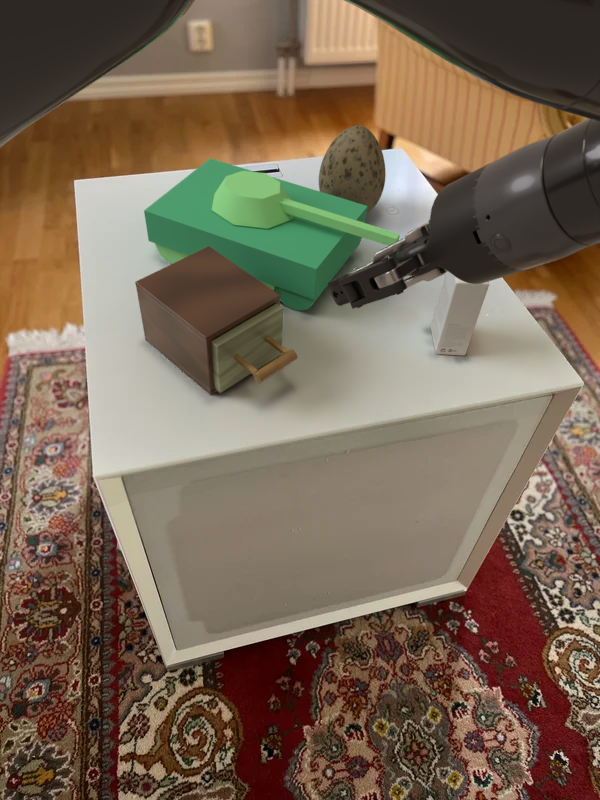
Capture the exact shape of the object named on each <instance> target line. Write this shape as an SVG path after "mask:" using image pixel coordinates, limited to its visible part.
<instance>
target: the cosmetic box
mask: <svg viewBox="0 0 600 800" xmlns="http://www.w3.org/2000/svg"><path fill="white" fill-rule="evenodd" d="M489 282H490V281H489ZM489 282H485V283H481V284H471V283H467V282H464V281H462V280H460V279H458V278H456V277H455V276H454V275H452V274H451V273H450V272H448V271H447V272H446V273H445V274H443V279H442V283H441V286H440V290H439V294H438V298H437V300H436V304H435V308H434V311H433V315H432V318H431V322H430V331H431V336H432V337H431V338H432V341H433V342H432V343H433V347H434V353H435V354H436V355H448V356H450V355H451V356H452V355H453V356H465V355H466V354H467V352H468V348H469V345H470V343H471V340H472V337H473V334H474V331H475V328H476V325H477V322H478V319H479V316H480V314H481V311H482V307H483V304H484V301H485V299H486V296H487V292H488V290H489V287H490V283H489Z"/></svg>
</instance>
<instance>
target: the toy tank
mask: <svg viewBox="0 0 600 800" xmlns="http://www.w3.org/2000/svg"><path fill="white" fill-rule="evenodd" d="M367 207H368V206H366V205H362V204H359V203H356V202H353V201H349V200H346V199H343V198H339V197H336V196H333V195H330V194H326V193H323V192H320V190H317V189H313V188H309V187H307V186H303V185H299V184H297V183H293V182H290V181H286V180H283V179H280V178H276V177H273V176H271V175H269V174H268V173H265V172H260V171H259V172H257V171H254V170H250V169H246V168H243V167H240V166H237V165H234V164H231V163H228V162H223V161H221V160H217V159H215V158H210V157H209V158H208V159H207V160H206V161H205V162H203V163H202V164H201V165H199V166H198V167H197V168H196V169H194V170H193V171H192V172H190V173H189V174H188V175H187V176H186V177H184V178H183V179H182V180H181V181H179V182H178V183H177V184H175V185H174V186H173V187H171V188H170V189H169V190H168V191H167V192H165V193H164V194H163V195H162V196H161V197H159V198H158V199H156V200H155V201H154V202H153V203H152V204H150V205H149V206H148V207H146V208H145V209H144V210H143V212H144V219H145V226H146V232H147V233H146V234H147V240H148V242H150V243H153V244H154V246H155V248H156V250H157V252H158V253H159V254H160V256H161V258H163V259H164V260H165V261H166V262H167V263H169V264H173V263H175V262H177V261H179V260H181V259H183V258H185V257H187V256H190V255H192V254H194V253H196V252H198V251H200V250H202V249H204V248H206V247H208V246H210V247H211V248H212V249H214V250H215V251H217V252H218V253H220V254H221V255H223V256H224V257H226V258H227V259H228V260H230V261H231V262H233V263H234V264H236V265H237V266H239V267H240V268H242V269H243V270H244V271H246V272H247V273H249V274H250V275H252V276H253V277H255V278H256V279H258V280H259V281H260V282H262V283H263V284H265V285H266V286H268V287H269V288H271V289H272V290H274V291H275V292H276V293H278V294H279V295H280V303H282V304H284V305H285V306H286V307H287V308H289V309H291V310H292V311H293V310H294V311H297V312H301V311H306V310H308V309H310V308H311V307H312V306H313V305H314V304H315V302H316V301H317V300H318V298H319V297H320V296H321V294H322V293H323V292H324V291H325V290H326V288H328V283H329V282H331V281H332V280H334V279H335V276H336V275H337V274H338V272H339V271H340V270H341V269H342V267H343V266H344V265H345V264H346V262H347V261H348V260H349V258H350V257H351V256H352V255H353V253H354V252H355V251H356V249H357V248H358V247H359V245H360V244H361V241H362V238H363V239H365V240H368V241H372V242H375V243H378V244H381V245H384V246H386V247H387V246H389V245H391V244H393V243H395V242H397V241H399V240H400V236H401V233H398V232H395V231H391V230H389V229H386V228H385V229H384V228H382V227H379V226H376V225H372V224H370V223H366V220H367V214H368V213H367Z"/></svg>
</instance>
